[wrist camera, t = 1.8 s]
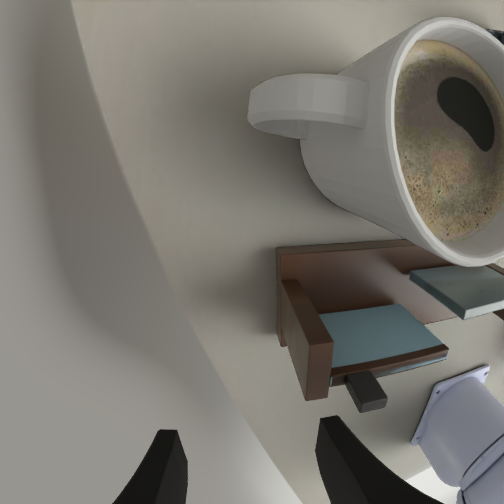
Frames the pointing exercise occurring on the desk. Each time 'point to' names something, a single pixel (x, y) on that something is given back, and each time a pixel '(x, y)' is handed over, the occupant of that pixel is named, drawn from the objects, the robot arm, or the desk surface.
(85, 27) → the desk surface
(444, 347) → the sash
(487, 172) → the mug
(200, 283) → the desk surface
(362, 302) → the window
